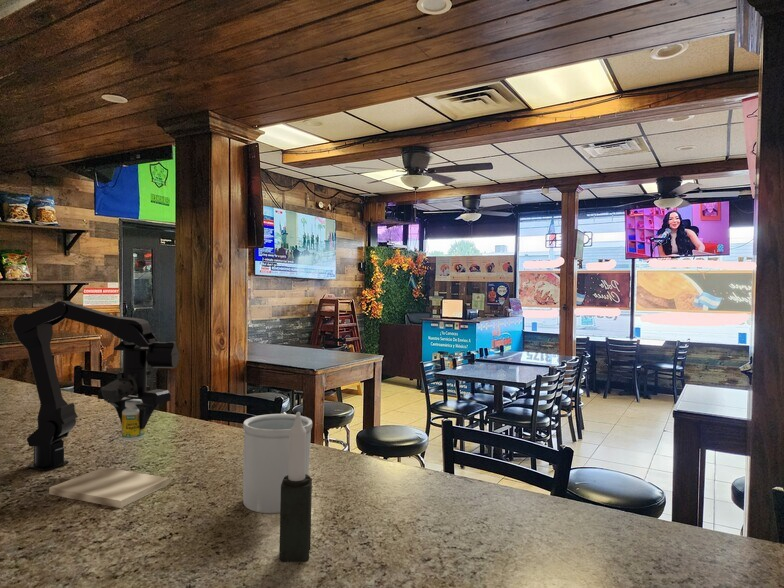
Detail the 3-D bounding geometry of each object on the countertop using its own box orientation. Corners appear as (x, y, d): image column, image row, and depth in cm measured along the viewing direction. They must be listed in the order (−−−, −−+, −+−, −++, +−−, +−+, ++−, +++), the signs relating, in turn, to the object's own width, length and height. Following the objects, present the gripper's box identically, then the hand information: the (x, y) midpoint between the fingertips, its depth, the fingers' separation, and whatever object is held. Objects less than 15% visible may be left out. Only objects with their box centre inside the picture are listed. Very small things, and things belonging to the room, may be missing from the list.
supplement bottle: (143, 433, 134) (144, 397, 134) (146, 438, 130) (147, 401, 130) (120, 436, 131) (121, 399, 131) (122, 441, 127) (123, 403, 127)
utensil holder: (286, 482, 121) (288, 409, 121) (323, 501, 111) (325, 422, 111) (229, 499, 111) (230, 419, 111) (264, 522, 100) (266, 434, 100)
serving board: (49, 494, 111) (49, 487, 111) (103, 473, 125) (103, 467, 125) (120, 508, 105) (120, 500, 105) (169, 484, 118) (169, 477, 118)
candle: (282, 547, 91) (285, 408, 91) (310, 546, 91) (314, 408, 91) (278, 562, 85) (281, 415, 85) (308, 561, 86) (311, 415, 86)
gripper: (79, 369, 126) (78, 431, 126) (139, 374, 120) (137, 440, 120) (116, 363, 136) (115, 421, 136) (172, 368, 131) (171, 428, 131)
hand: (133, 427), depth 131 cm, fingers closed on supplement bottle, 5 cm apart
